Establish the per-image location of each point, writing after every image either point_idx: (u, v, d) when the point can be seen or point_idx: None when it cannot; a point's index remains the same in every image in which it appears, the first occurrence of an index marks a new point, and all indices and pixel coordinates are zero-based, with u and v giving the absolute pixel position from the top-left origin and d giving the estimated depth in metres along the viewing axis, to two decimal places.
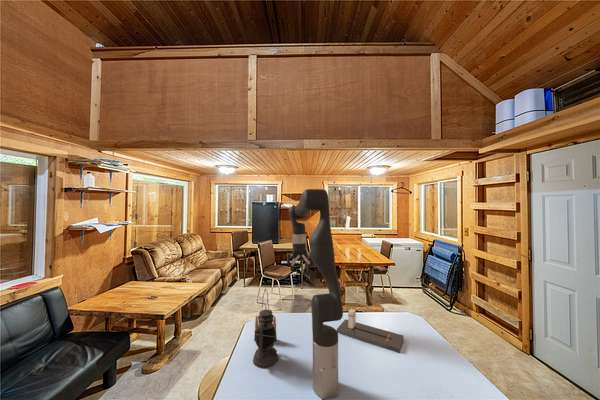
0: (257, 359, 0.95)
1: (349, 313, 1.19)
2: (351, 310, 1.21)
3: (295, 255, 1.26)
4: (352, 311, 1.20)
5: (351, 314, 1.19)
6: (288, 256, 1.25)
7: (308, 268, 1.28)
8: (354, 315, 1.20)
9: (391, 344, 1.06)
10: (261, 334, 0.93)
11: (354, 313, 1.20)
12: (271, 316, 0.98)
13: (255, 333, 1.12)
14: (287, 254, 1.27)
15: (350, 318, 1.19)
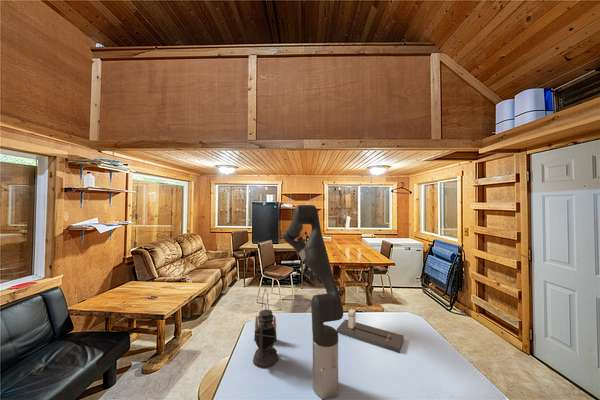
0: (257, 359, 0.95)
1: (349, 313, 1.19)
2: (351, 310, 1.21)
3: None
4: (352, 311, 1.20)
5: (351, 314, 1.19)
6: None
7: None
8: (354, 315, 1.20)
9: (391, 344, 1.06)
10: (261, 334, 0.93)
11: (354, 313, 1.20)
12: (271, 316, 0.98)
13: (255, 333, 1.12)
14: (308, 269, 1.23)
15: (350, 318, 1.19)
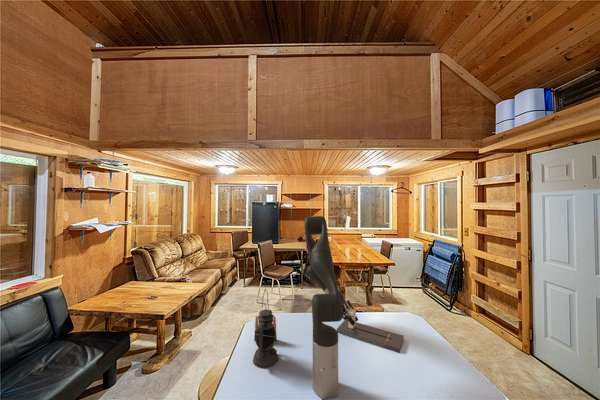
0: (257, 359, 0.95)
1: (349, 313, 1.19)
2: (351, 310, 1.21)
3: (342, 307, 1.21)
4: (352, 311, 1.20)
5: (351, 314, 1.19)
6: None
7: None
8: (354, 315, 1.20)
9: (391, 344, 1.06)
10: (261, 334, 0.93)
11: (354, 313, 1.20)
12: (271, 316, 0.98)
13: (255, 333, 1.12)
14: None
15: None
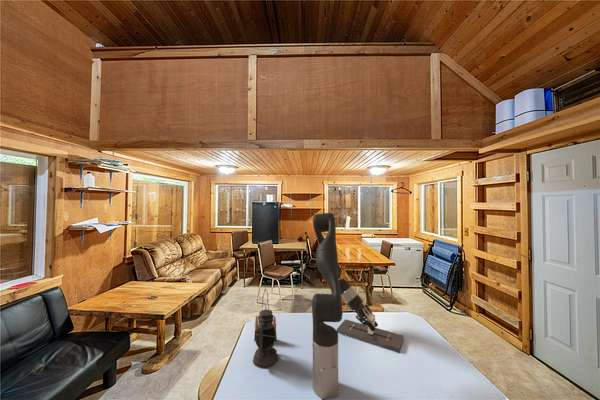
0: (257, 359, 0.95)
1: (369, 318, 1.14)
2: (370, 315, 1.16)
3: (361, 311, 1.15)
4: (372, 316, 1.15)
5: (371, 319, 1.13)
6: (360, 316, 1.12)
7: (376, 322, 1.16)
8: (374, 320, 1.15)
9: (391, 344, 1.06)
10: (261, 334, 0.93)
11: (374, 318, 1.15)
12: (271, 316, 0.98)
13: (255, 333, 1.12)
14: (357, 317, 1.12)
15: None
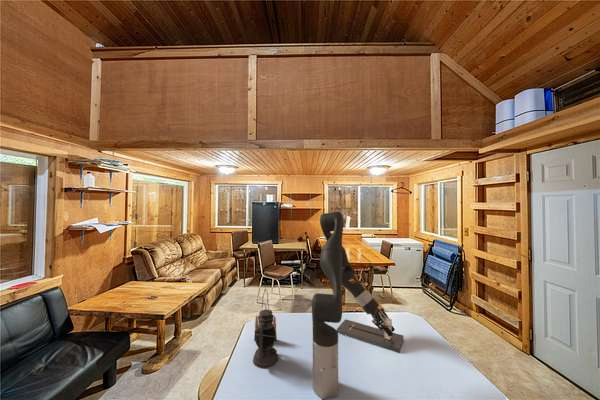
0: (257, 359, 0.95)
1: (385, 323, 1.10)
2: (387, 319, 1.11)
3: (377, 316, 1.11)
4: (388, 320, 1.10)
5: (388, 324, 1.09)
6: (377, 320, 1.08)
7: (392, 326, 1.12)
8: (391, 325, 1.11)
9: (391, 344, 1.06)
10: (261, 334, 0.93)
11: (391, 323, 1.11)
12: (271, 316, 0.98)
13: (255, 333, 1.12)
14: (373, 321, 1.08)
15: None
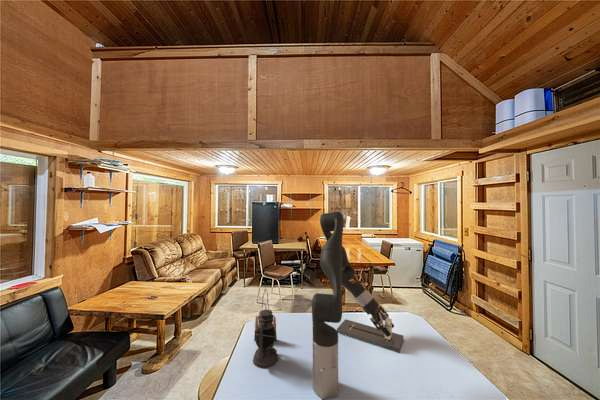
0: (257, 359, 0.95)
1: (385, 323, 1.10)
2: (387, 319, 1.11)
3: (377, 315, 1.11)
4: (388, 320, 1.10)
5: (388, 324, 1.09)
6: (375, 318, 1.08)
7: (392, 323, 1.14)
8: (391, 325, 1.11)
9: (391, 344, 1.06)
10: (261, 334, 0.93)
11: (391, 323, 1.11)
12: (271, 316, 0.98)
13: (255, 333, 1.12)
14: (371, 319, 1.09)
15: (387, 328, 1.09)
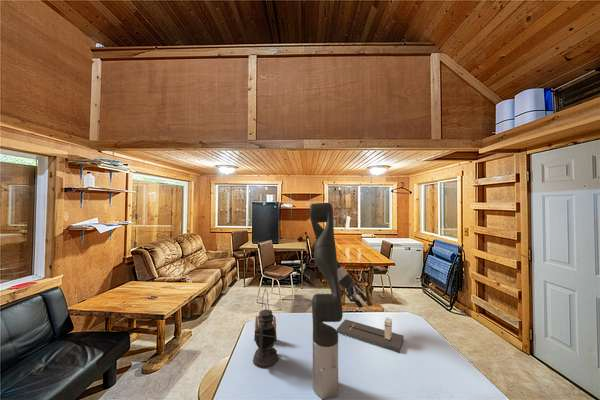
0: (257, 359, 0.95)
1: (385, 323, 1.10)
2: (387, 319, 1.11)
3: (351, 288, 1.18)
4: (388, 320, 1.10)
5: (388, 324, 1.09)
6: (348, 291, 1.15)
7: None
8: (391, 325, 1.11)
9: (391, 344, 1.06)
10: (261, 334, 0.93)
11: (391, 323, 1.11)
12: (271, 316, 0.98)
13: (255, 333, 1.12)
14: (345, 292, 1.16)
15: (387, 328, 1.09)
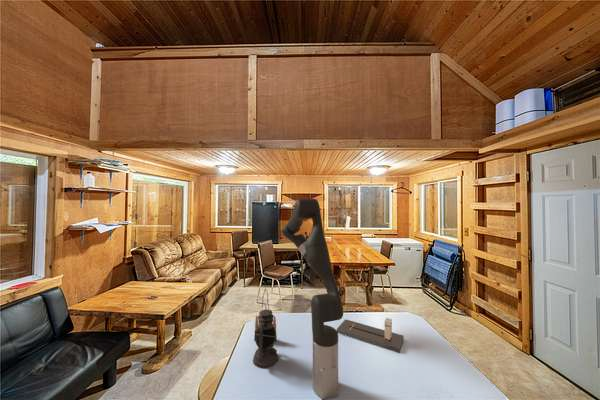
0: (257, 359, 0.95)
1: (385, 323, 1.10)
2: (387, 319, 1.11)
3: None
4: (388, 320, 1.10)
5: (388, 324, 1.09)
6: None
7: None
8: (391, 325, 1.11)
9: (391, 344, 1.06)
10: (261, 334, 0.93)
11: (391, 323, 1.11)
12: (271, 316, 0.98)
13: (255, 333, 1.12)
14: (308, 264, 1.19)
15: (387, 328, 1.09)
